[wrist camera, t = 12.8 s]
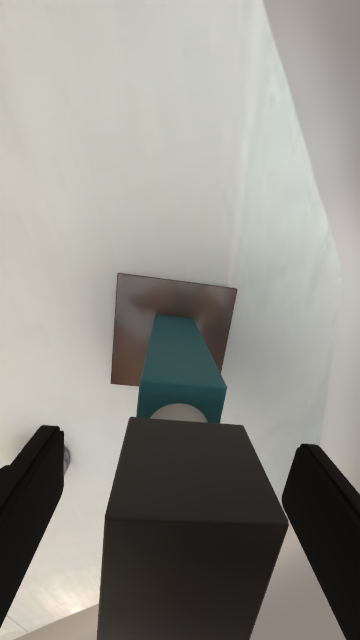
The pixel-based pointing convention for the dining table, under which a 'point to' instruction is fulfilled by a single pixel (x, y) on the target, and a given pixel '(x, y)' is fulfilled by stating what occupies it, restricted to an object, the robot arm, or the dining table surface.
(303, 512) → the robot arm
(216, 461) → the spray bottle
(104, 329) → the dining table surface
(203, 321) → the coaster
